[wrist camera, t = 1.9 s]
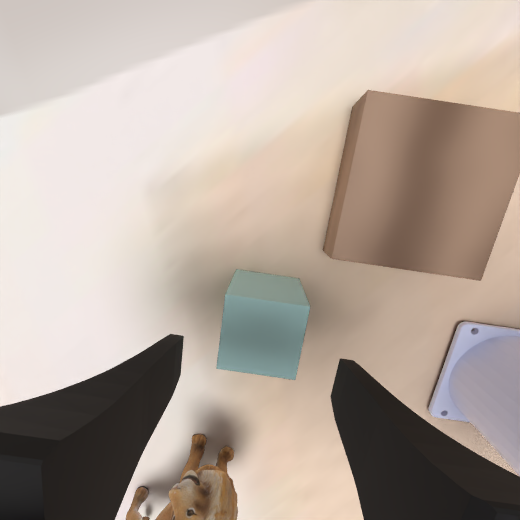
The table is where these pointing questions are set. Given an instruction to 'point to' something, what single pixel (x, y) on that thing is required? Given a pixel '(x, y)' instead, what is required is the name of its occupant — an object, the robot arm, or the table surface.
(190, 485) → the lion figurine
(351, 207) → the walnut base block
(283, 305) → the teal brick
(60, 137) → the table surface
